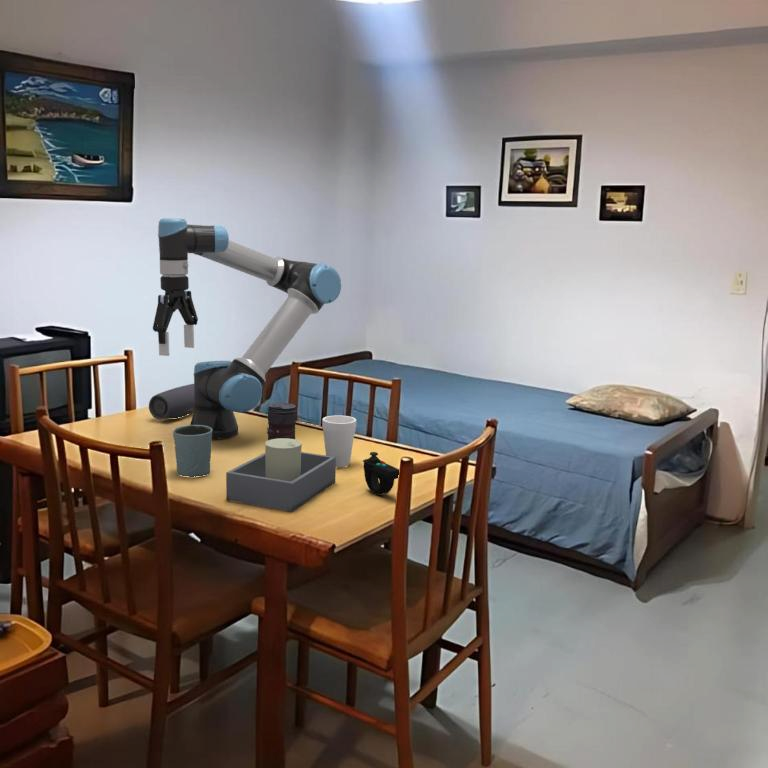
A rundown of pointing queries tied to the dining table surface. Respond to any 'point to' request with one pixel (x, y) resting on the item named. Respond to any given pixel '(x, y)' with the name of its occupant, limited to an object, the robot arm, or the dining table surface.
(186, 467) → the blue-grey textured cup
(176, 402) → the bluetooth speaker
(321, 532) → the dining table surface
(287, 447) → the can
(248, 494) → the box
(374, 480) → the controller
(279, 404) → the camera lens
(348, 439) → the foam cup
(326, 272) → the robot arm
